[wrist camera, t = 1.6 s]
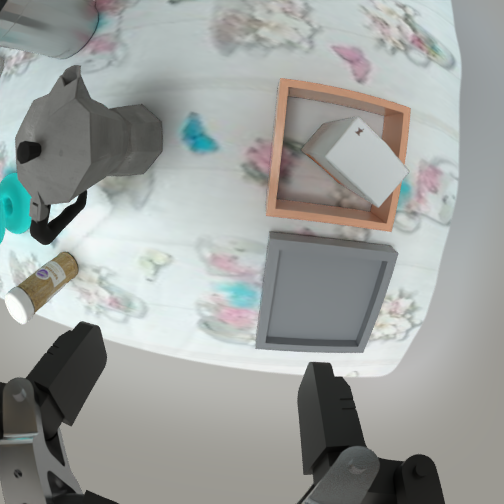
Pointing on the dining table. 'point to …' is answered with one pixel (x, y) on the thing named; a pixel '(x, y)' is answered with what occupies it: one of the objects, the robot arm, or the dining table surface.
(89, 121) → the coffeepot
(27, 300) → the sprinkles bottle
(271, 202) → the orange square frame
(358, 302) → the grey tray
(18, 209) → the donuts
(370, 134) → the skincare box
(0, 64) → the lumpy-topped squat cylinder
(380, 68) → the dining table surface
